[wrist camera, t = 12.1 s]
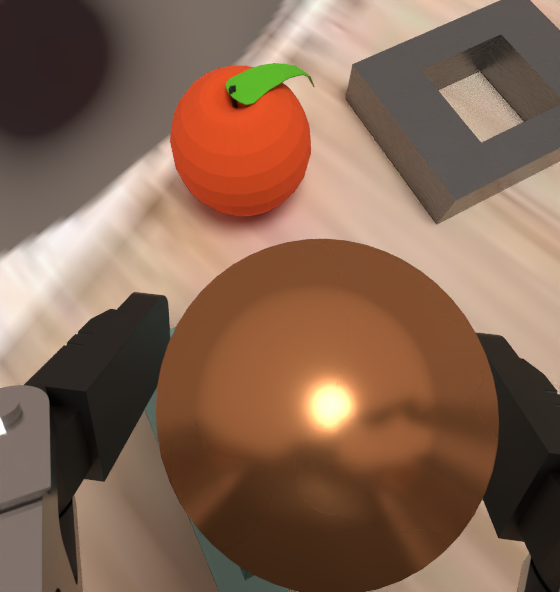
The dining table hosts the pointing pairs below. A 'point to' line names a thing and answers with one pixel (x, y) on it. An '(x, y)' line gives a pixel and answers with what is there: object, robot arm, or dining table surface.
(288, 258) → the pin
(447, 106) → the block
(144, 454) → the dining table surface
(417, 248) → the dining table surface
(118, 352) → the robot arm
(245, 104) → the clementine
